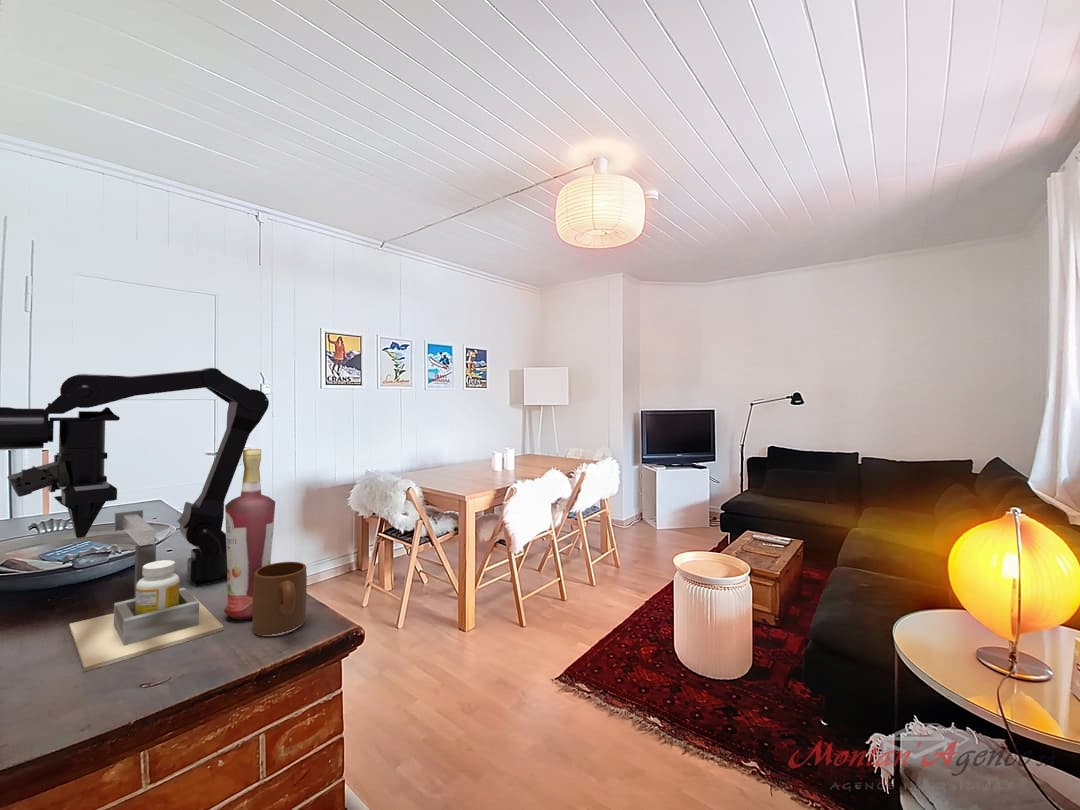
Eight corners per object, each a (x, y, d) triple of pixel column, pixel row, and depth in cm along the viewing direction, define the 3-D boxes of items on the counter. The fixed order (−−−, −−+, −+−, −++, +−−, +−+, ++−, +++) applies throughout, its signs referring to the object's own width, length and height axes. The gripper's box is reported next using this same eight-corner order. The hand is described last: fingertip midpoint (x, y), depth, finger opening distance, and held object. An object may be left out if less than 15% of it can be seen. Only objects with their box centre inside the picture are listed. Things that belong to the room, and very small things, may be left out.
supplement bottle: (138, 636, 71) (140, 572, 71) (131, 625, 75) (132, 564, 75) (182, 624, 76) (184, 564, 76) (173, 614, 79) (175, 556, 79)
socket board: (192, 597, 87) (193, 536, 87) (223, 630, 75) (225, 559, 75) (69, 627, 75) (71, 555, 75) (84, 671, 63) (86, 586, 63)
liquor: (279, 614, 81) (283, 450, 81) (229, 628, 76) (233, 453, 76) (264, 601, 86) (268, 447, 86) (217, 613, 81) (221, 449, 81)
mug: (316, 641, 73) (318, 579, 73) (259, 656, 68) (261, 590, 68) (300, 612, 82) (301, 558, 82) (249, 624, 78) (250, 566, 78)
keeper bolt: (141, 526, 93) (142, 509, 93) (161, 544, 82) (162, 526, 82) (114, 530, 90) (114, 513, 90) (131, 549, 79) (132, 530, 79)
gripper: (7, 445, 82) (5, 536, 82) (19, 455, 70) (17, 560, 70) (95, 442, 90) (93, 524, 90) (118, 450, 79) (116, 544, 79)
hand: (80, 537), depth 82 cm, fingers closed
